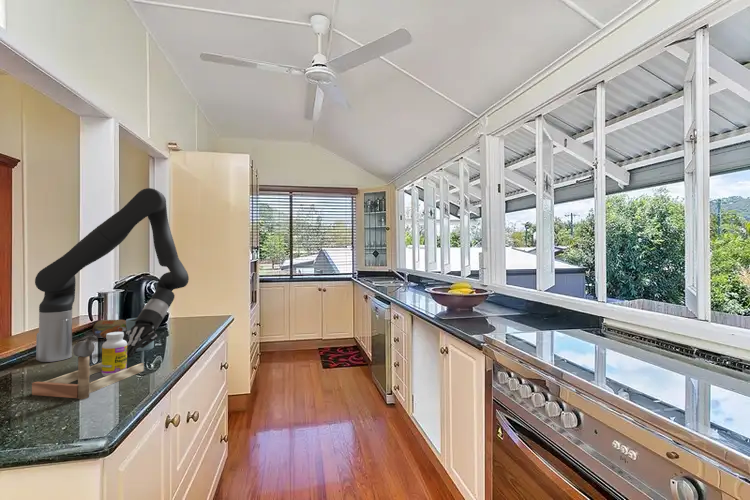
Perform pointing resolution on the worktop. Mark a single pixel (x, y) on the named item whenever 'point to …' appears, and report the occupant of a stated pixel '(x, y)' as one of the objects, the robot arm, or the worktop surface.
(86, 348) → the wooden frame stand
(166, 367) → the worktop surface
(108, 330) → the tin
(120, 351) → the supplement bottle
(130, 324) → the grey green cup
